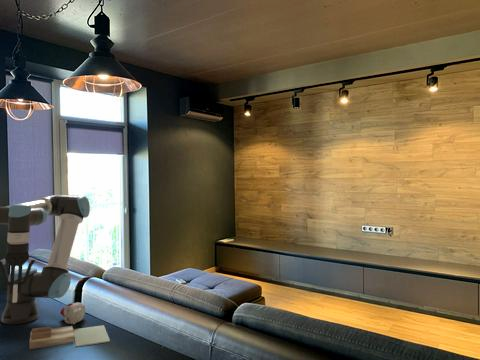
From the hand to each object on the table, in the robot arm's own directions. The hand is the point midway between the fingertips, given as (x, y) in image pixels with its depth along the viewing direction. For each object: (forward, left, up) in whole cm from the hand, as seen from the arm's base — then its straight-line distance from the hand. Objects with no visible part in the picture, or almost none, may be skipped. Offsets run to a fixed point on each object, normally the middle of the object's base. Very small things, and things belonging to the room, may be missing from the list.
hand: (14, 301), depth 144 cm
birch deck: (0, +14, -18) cm, 22 cm away
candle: (-19, +23, -18) cm, 35 cm away
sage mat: (+2, +29, -18) cm, 34 cm away
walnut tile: (0, +10, -15) cm, 18 cm away
